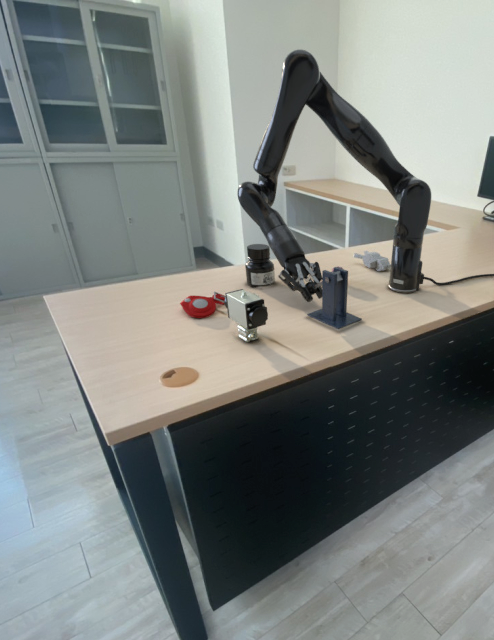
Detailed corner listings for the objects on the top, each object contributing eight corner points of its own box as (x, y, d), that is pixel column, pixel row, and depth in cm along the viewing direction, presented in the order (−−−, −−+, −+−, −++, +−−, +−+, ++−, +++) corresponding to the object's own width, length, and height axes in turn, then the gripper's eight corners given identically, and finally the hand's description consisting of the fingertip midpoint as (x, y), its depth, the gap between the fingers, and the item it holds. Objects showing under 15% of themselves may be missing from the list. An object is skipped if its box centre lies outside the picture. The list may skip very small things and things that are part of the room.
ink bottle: (254, 291, 126) (251, 252, 119) (241, 283, 131) (237, 245, 125) (281, 285, 131) (279, 247, 125) (267, 277, 137) (264, 241, 130)
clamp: (307, 317, 111) (306, 268, 103) (330, 309, 117) (331, 261, 109) (338, 332, 104) (339, 280, 97) (361, 322, 110) (364, 273, 103)
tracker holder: (205, 317, 105) (171, 303, 106) (206, 329, 108) (174, 315, 109) (231, 292, 113) (199, 279, 114) (231, 304, 116) (201, 291, 117)
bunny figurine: (379, 263, 143) (351, 248, 152) (376, 276, 146) (349, 261, 155) (397, 259, 149) (369, 245, 157) (394, 272, 152) (367, 258, 160)
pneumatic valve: (254, 350, 94) (249, 301, 88) (227, 333, 101) (221, 286, 94) (273, 343, 97) (270, 295, 91) (246, 327, 104) (242, 282, 98)
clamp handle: (304, 297, 113) (299, 285, 112) (313, 294, 115) (309, 282, 114) (336, 284, 102) (331, 270, 101) (345, 281, 104) (341, 267, 104)
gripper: (270, 242, 105) (303, 298, 105) (310, 234, 115) (340, 286, 114) (259, 258, 111) (291, 312, 110) (298, 250, 120) (327, 299, 120)
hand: (316, 298), depth 112 cm, fingers closed on clamp handle, 3 cm apart
